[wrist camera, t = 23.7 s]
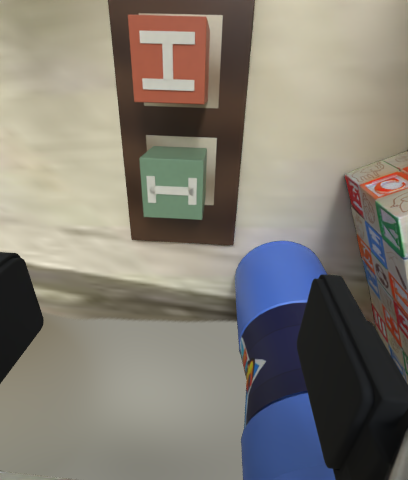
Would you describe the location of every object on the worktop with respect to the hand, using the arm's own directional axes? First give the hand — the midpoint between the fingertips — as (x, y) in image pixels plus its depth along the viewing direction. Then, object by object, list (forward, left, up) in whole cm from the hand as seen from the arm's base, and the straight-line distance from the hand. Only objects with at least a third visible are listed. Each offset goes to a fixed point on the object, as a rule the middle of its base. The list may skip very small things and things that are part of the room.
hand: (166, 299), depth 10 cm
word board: (-3, -2, -18) cm, 18 cm away
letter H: (-7, -2, -17) cm, 19 cm away
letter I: (+1, -2, -17) cm, 17 cm away
